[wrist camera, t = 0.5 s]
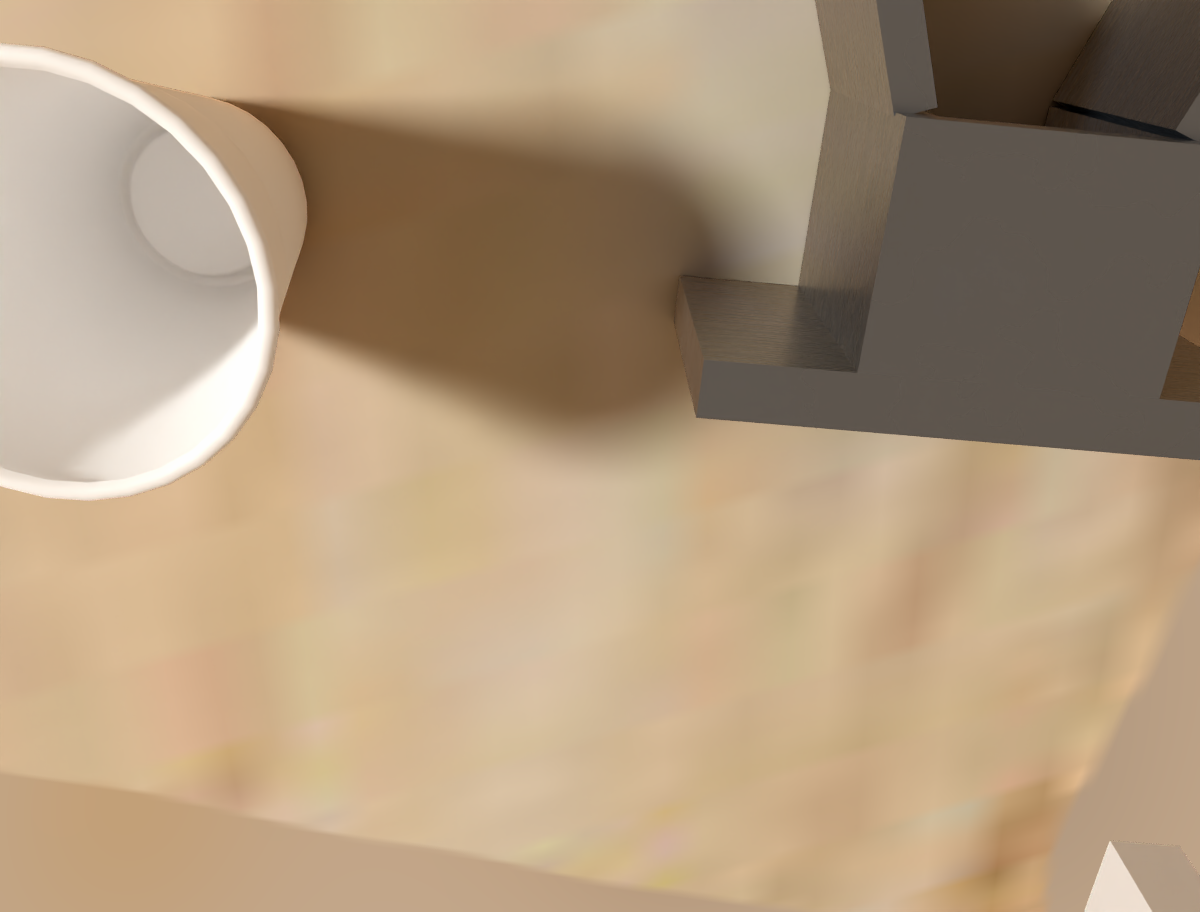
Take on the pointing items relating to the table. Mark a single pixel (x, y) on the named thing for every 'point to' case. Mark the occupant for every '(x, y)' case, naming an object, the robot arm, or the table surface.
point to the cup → (132, 275)
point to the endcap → (981, 254)
